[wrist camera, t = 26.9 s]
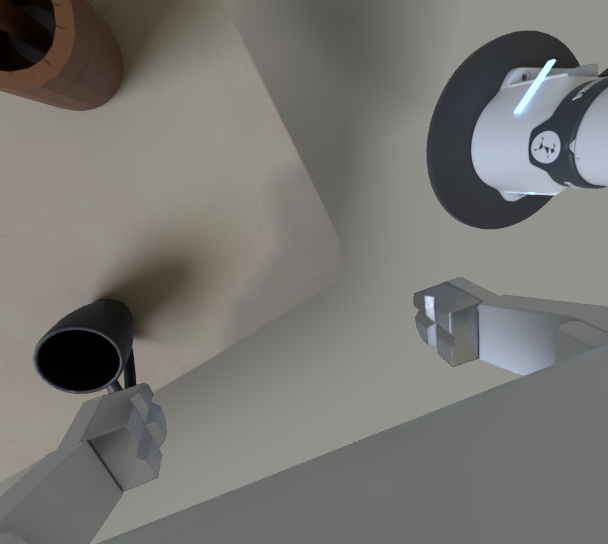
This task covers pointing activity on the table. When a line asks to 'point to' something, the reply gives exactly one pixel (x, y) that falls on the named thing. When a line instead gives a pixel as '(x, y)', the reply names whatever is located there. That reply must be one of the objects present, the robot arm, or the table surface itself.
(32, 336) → the table surface
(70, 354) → the mug
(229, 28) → the table surface
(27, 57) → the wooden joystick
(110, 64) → the wooden mortar
